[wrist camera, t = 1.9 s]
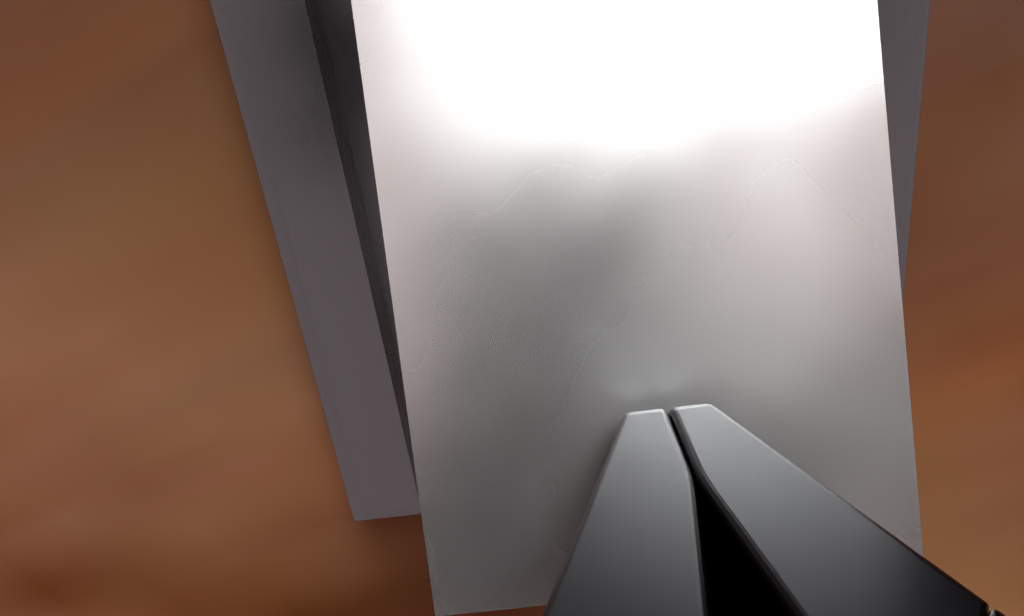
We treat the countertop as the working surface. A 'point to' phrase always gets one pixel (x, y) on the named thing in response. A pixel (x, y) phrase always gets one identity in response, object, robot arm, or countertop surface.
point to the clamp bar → (631, 255)
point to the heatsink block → (357, 222)
